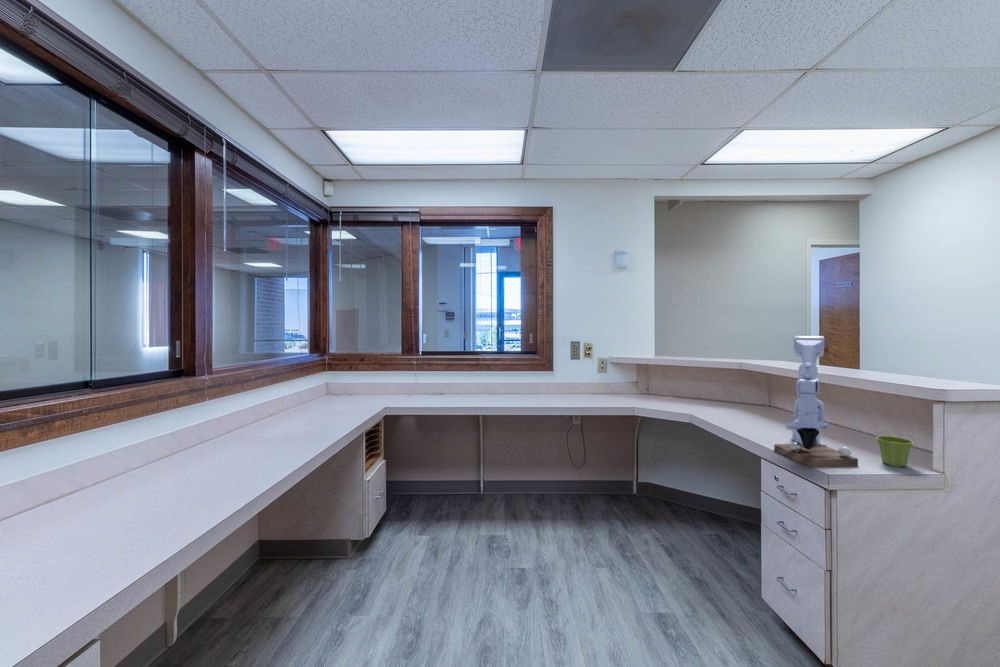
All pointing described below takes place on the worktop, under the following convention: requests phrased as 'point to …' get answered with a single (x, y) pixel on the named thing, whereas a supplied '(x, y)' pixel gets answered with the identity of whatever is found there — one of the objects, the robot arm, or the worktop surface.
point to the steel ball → (795, 447)
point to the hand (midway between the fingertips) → (807, 448)
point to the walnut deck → (816, 456)
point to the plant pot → (894, 450)
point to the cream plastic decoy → (844, 451)
